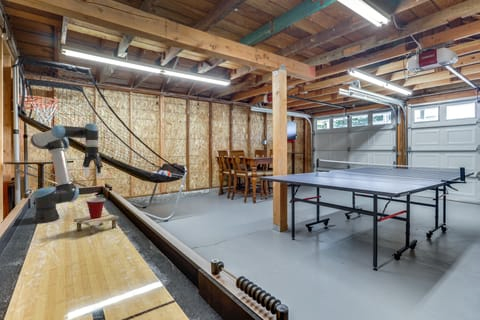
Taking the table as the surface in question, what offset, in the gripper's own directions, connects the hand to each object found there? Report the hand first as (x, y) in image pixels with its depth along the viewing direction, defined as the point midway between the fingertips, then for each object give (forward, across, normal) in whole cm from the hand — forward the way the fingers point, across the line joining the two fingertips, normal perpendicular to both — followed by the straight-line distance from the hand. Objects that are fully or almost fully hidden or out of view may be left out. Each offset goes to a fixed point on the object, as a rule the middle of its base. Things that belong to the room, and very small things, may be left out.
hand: (92, 177), depth 172 cm
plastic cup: (+24, +17, -8) cm, 30 cm away
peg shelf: (+31, +17, -8) cm, 37 cm away
